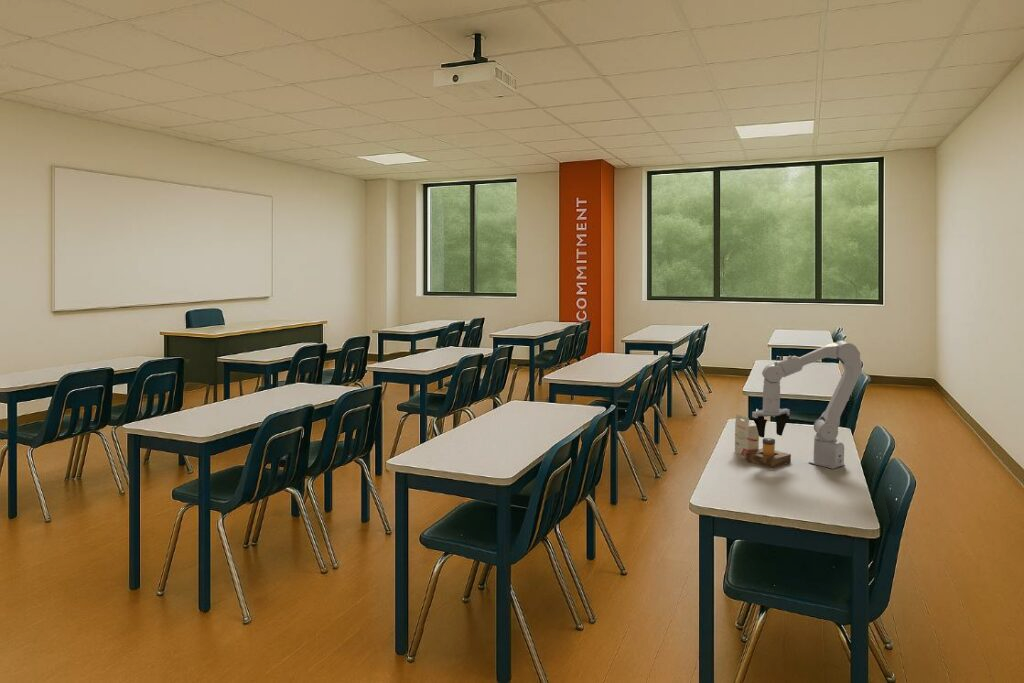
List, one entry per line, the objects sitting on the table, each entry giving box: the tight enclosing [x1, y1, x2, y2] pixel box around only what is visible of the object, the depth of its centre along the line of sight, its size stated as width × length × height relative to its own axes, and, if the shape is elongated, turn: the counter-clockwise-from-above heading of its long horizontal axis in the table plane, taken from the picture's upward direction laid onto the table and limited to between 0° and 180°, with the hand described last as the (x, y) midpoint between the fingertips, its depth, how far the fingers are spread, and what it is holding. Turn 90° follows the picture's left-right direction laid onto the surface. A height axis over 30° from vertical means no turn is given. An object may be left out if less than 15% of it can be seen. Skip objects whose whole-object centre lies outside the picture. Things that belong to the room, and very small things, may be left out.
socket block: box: [745, 447, 792, 469], centre depth 256 cm, size 11×11×3 cm
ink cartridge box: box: [734, 413, 760, 457], centre depth 266 cm, size 9×5×15 cm, turn 17°
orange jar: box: [762, 437, 776, 457], centre depth 255 cm, size 4×4×8 cm
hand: (770, 435), depth 256 cm, fingers open, 7 cm apart
